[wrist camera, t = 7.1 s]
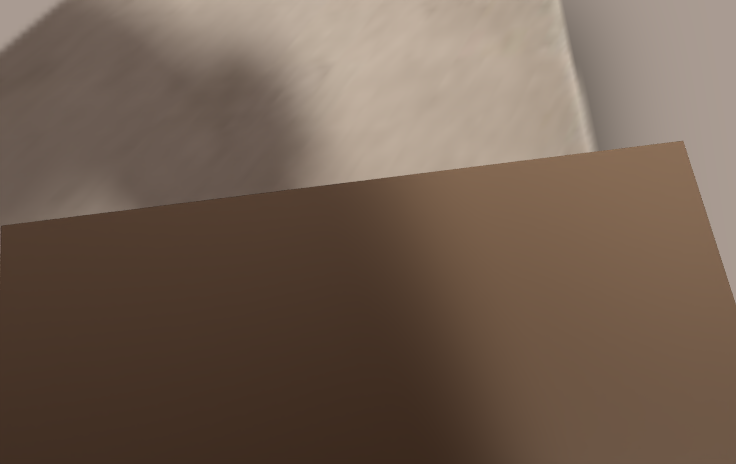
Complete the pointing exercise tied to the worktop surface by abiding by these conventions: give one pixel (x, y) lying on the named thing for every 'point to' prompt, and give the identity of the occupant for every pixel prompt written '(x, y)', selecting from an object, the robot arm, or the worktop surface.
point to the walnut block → (380, 323)
